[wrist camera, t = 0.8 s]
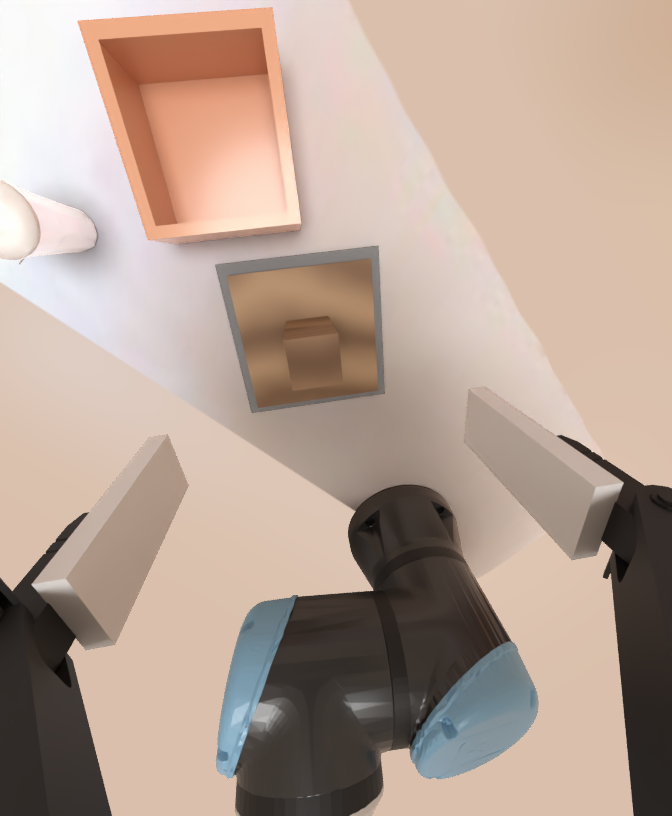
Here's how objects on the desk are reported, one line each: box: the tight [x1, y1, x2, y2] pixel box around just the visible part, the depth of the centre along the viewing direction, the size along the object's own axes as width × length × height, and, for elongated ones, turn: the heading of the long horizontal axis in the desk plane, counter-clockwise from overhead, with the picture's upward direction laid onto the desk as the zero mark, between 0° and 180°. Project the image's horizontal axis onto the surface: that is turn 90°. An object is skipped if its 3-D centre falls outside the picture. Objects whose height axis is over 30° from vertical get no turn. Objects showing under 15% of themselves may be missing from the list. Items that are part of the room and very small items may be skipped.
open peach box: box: [78, 7, 301, 244], centre depth 23 cm, size 11×11×6 cm
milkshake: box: [0, 180, 97, 264], centre depth 22 cm, size 4×5×10 cm
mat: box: [215, 246, 385, 413], centre depth 32 cm, size 15×15×1 cm
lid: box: [227, 259, 378, 408], centre depth 28 cm, size 13×13×9 cm
